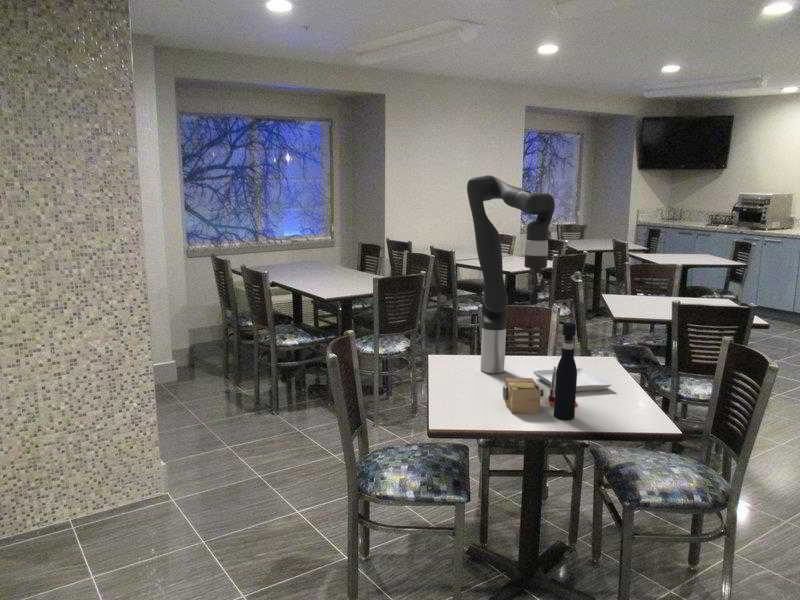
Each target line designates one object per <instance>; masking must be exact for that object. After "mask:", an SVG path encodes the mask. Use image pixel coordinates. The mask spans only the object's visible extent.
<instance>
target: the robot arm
mask: <svg viewBox="0 0 800 600" xmlns="http://www.w3.org/2000/svg"><path fill="white" fill-rule="evenodd" d="M466 191H467V192H466V194H467V199H468V202H469V207H470V211H471V216H472V223H473V229H474V234H475V235H474V239H475V246H476V253H477V258H478V262H479V266H480V269H481V272H482V275H483V287H484V289H483V290H484V291H483V294H482V299H481V300H482V301H481V302H482V303H481V345H480V346H481V348H480V350H481V351H480V371H481V372H482V371H483V373H485V372H486V374H491V373H492V374H494V375H495V373H498V374H502V372H503V373H504V372H505V361H506V338H507V337H506V335H507V319H506V318H507V317H506V316H507V315H506V312H507V306H508V303H509V296H508V293H507V289H506V284H505V280H504V273H503V272H504V271H503V252H502V250H503V249H502V241H501V236H500V233H499V231H498V229H497V228H496V227H495V225H494V224H493V222H492V221H491V220H490V219H489V217H488V215H487V213H486V210H485V204H484V202H487V201H491V200H502V201H503V203H504V204H506V205H507V206H509V207H510V208H513V209H517V210H519V211H521V212H522V213H524V214H526V215H529V216H530V215H531V216H535V215H536V216H537V217H536V219H535V220H534V221H531V222H529V223H527V227H526V239H525V240H526V241H525V246H524V247H525V248H524V265H523V266H524V267H525V268H527V269H529V272H528V274H527V276H526V278H527V284H528V290H529V293H530V295H529V296H530V297H529V303H530V305H533V306H534V305H535V306H536V305H537V304H538V297H539V294H540V293H541V290H542V287H543V284H544V279H543V273H542V269H547V268H548V257H549V241H548V240H549V228H550V225H551V222H552V218H553V216H554V212H555V208H556V203H555V199H554V197H553V195H552V194H550V193H546V192H545V193H542V192H541V193H540V192H539V193H537V192H535V193H534V192H533V193H532V192H531V191H530V190H528V189H525V188H522V187H517V186H514V185H511V184H508V183H507V182H504V181H503V180H501V179H499V178H498V177H496V176H493V175H490V174H489V175H481V176H474V177H471V178H469V179H468V181H467V184H466ZM537 306H538V305H537Z"/></svg>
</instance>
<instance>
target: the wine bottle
mask: <svg viewBox="0 0 800 600" xmlns="http://www.w3.org/2000/svg"><path fill="white" fill-rule="evenodd" d="M576 331H577V324H575V323H572V322H565V323H563V324H562V335H563V336H564V342H563V343H562V348H561V357H560V358H559V362H558V363H557V367H556V369H557V370H556V381H555V394H554V407H553V415H552V416H553V417H554V418H555V419H556V420H560V421H573V420H574V419H575V414H576V412H575V410H576V407H575V401H576V399H577V392H576V385H577V365H576V360H575V348H574V347H575V346H574V336H576Z"/></svg>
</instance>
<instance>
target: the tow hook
mask: <svg viewBox="0 0 800 600" xmlns="http://www.w3.org/2000/svg"><path fill="white" fill-rule="evenodd" d="M553 369H554V371H553V374H552V383H551V385H550V389H549V394H548V396H547V400H548V404H549V405H550V407H552V408H554V397H555V380H556V369H557V367H556V366H553ZM577 406H578V402H577V401H576V400H575V408H577Z"/></svg>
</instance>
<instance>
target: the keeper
mask: <svg viewBox="0 0 800 600" xmlns="http://www.w3.org/2000/svg"><path fill="white" fill-rule="evenodd" d="M515 385H516V386H517V387H519V388H534V385H533V384H528V383H515Z"/></svg>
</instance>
